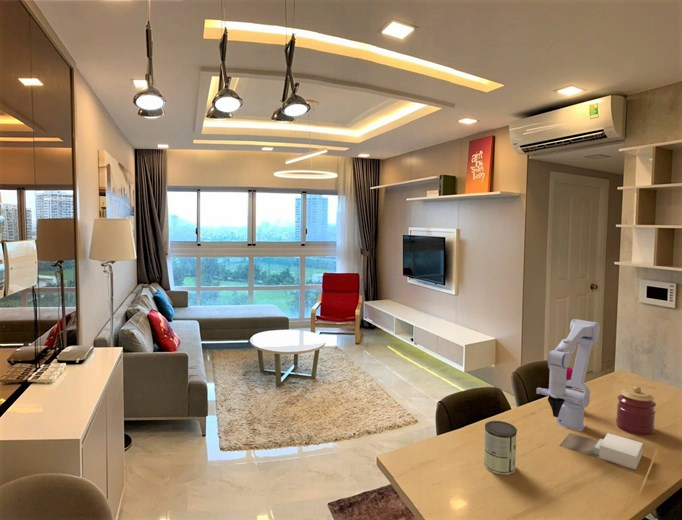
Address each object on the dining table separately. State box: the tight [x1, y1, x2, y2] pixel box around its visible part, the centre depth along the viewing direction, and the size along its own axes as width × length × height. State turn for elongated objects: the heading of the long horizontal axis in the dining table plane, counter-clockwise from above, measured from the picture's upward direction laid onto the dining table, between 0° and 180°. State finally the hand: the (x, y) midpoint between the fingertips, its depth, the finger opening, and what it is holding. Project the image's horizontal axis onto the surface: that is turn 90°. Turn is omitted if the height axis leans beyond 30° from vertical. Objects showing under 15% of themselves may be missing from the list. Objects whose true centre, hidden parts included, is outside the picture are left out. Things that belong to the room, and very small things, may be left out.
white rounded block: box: [599, 432, 644, 471], centre depth 156 cm, size 11×12×5 cm
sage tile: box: [594, 438, 604, 455], centre depth 157 cm, size 11×9×2 cm
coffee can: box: [483, 420, 518, 476], centre depth 150 cm, size 10×10×14 cm
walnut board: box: [558, 432, 643, 472], centre depth 160 cm, size 24×14×1 cm, turn 47°
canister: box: [615, 385, 657, 436], centre depth 177 cm, size 13×13×18 cm
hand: (555, 416), depth 168 cm, fingers closed
